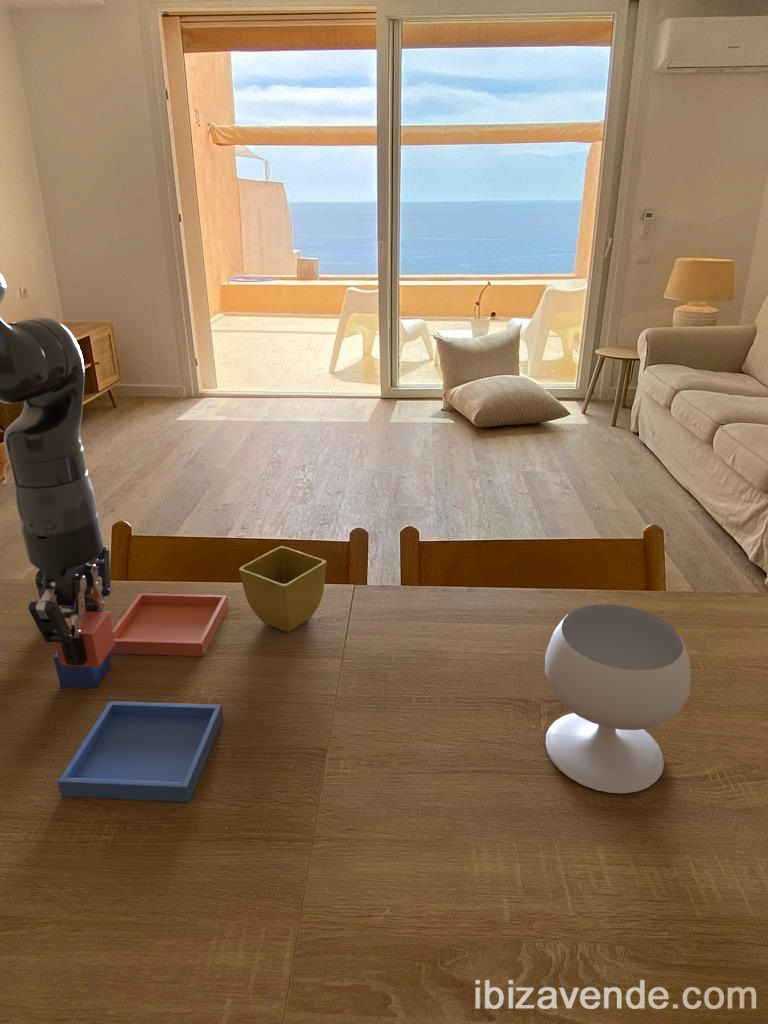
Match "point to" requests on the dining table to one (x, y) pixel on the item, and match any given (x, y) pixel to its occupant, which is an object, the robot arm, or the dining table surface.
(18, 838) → the dining table surface
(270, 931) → the dining table surface
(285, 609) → the flower pot
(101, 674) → the slate-blue block
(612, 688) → the chalice
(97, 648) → the terracotta block
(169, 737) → the slate-blue tray
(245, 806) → the dining table surface
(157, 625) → the terracotta tray
